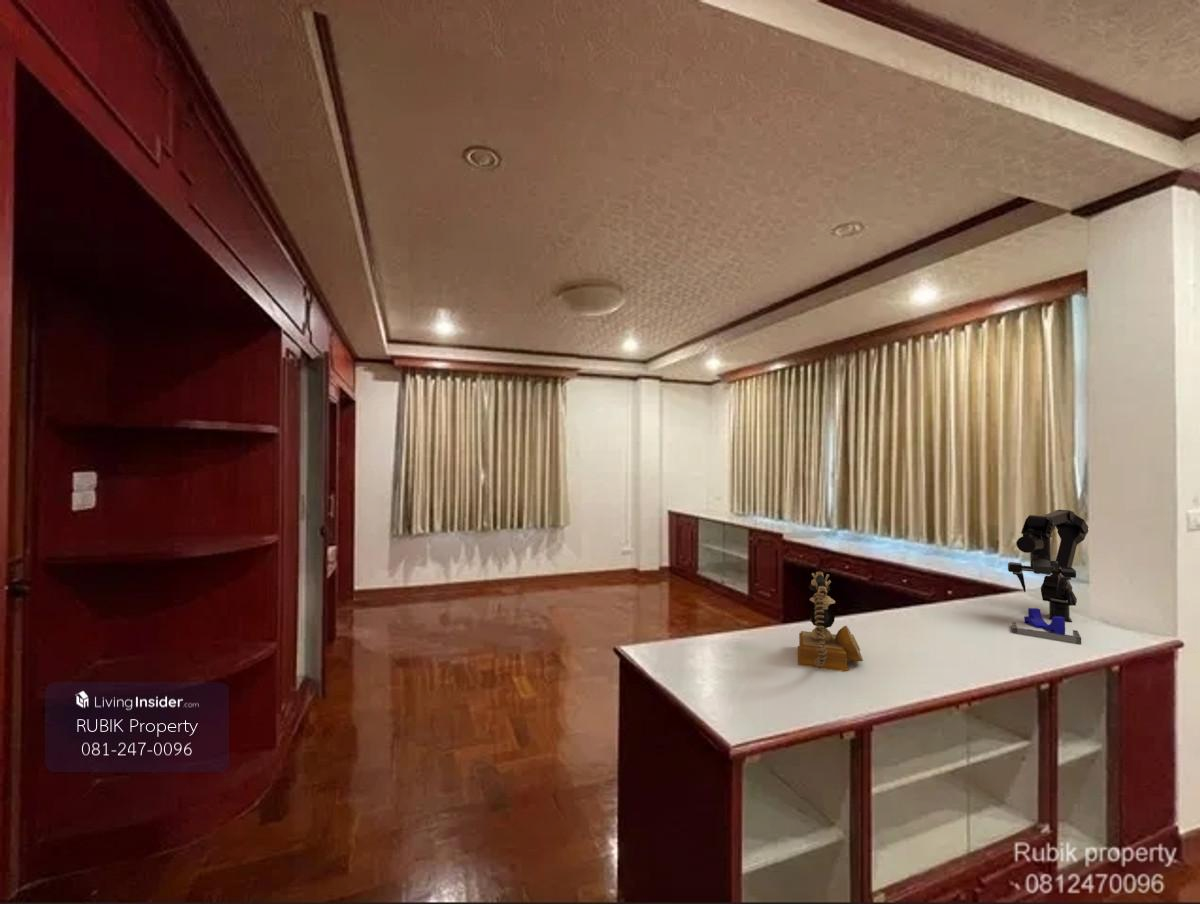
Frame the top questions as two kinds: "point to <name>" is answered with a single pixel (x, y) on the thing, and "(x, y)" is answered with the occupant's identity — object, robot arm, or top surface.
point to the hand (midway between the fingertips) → (1041, 593)
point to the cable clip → (1038, 622)
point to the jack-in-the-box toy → (826, 634)
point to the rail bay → (1048, 634)
